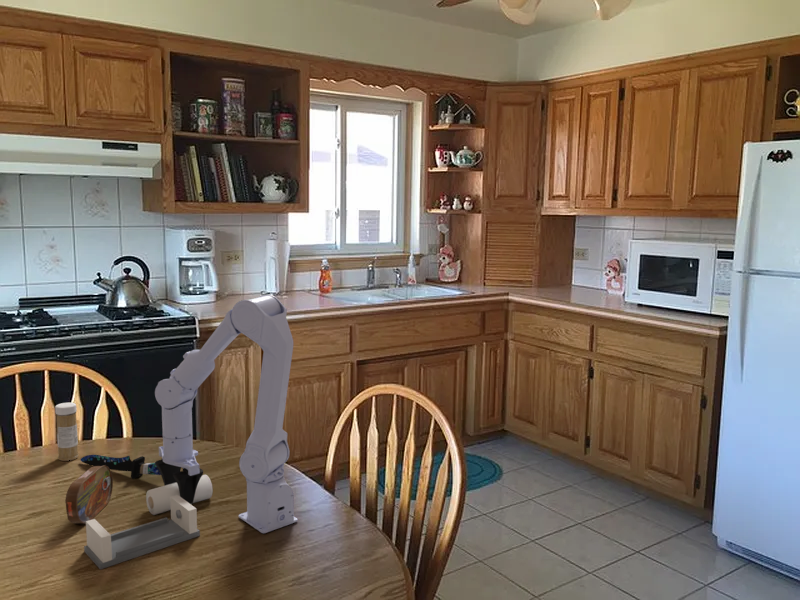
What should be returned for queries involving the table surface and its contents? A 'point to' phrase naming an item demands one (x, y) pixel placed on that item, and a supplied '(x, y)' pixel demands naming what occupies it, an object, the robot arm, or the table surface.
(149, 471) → the knife
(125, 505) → the table surface
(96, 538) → the holder
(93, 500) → the tin
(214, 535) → the table surface
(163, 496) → the cylinder
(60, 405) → the sprinkles bottle
